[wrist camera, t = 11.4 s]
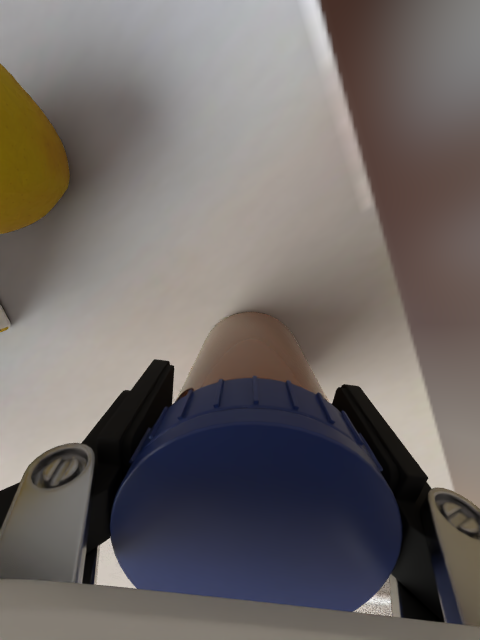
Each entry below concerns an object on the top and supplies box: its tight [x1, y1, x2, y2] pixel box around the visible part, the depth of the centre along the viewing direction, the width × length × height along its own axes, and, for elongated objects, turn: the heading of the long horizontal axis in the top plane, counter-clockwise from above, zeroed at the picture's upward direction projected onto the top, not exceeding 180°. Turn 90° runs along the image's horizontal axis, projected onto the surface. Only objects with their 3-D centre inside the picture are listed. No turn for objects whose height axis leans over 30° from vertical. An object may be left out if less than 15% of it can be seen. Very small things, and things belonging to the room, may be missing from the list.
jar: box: [175, 312, 329, 402], centre depth 11 cm, size 6×6×9 cm
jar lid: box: [110, 376, 402, 612], centre depth 6 cm, size 7×7×2 cm
